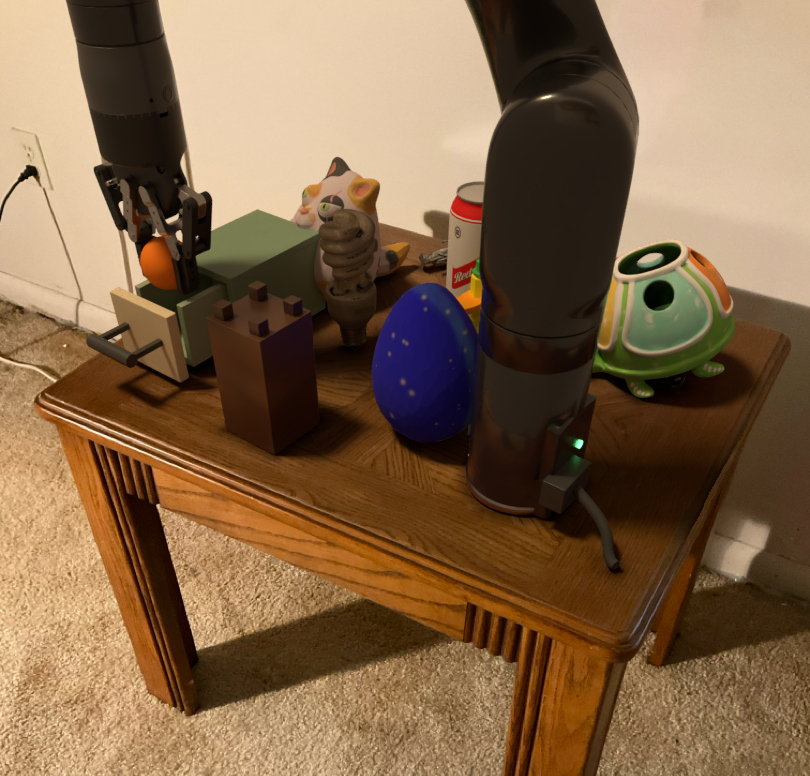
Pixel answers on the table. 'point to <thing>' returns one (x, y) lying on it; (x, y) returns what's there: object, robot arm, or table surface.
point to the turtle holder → (664, 317)
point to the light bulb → (350, 273)
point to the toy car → (670, 381)
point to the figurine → (346, 193)
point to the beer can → (464, 236)
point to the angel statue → (435, 257)
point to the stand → (265, 367)
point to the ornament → (426, 365)
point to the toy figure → (473, 297)
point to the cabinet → (264, 258)
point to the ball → (158, 264)
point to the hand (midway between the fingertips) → (171, 282)
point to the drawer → (162, 327)
